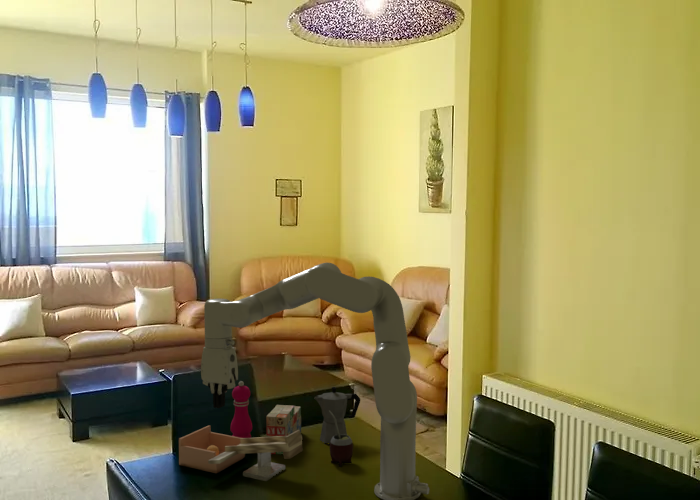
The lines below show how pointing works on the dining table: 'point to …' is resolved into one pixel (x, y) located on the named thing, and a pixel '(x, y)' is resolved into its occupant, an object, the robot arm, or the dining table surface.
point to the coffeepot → (335, 412)
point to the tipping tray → (263, 446)
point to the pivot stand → (264, 468)
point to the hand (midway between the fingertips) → (219, 406)
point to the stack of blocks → (283, 421)
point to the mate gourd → (340, 447)
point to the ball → (213, 449)
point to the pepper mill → (241, 412)
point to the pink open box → (198, 456)
